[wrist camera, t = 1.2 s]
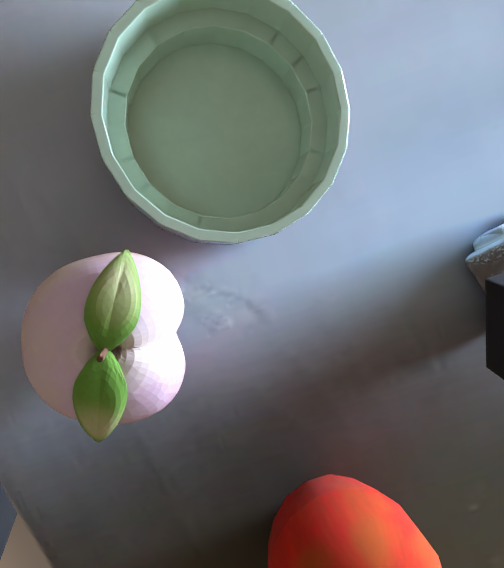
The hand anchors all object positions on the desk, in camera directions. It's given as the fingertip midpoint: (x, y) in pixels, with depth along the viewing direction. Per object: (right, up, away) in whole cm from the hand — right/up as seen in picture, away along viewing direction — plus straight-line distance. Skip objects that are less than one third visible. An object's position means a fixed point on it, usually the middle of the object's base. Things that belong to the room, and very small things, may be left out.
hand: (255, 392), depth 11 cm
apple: (+5, -15, +21) cm, 26 cm away
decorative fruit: (-9, 0, +18) cm, 20 cm away
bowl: (-2, +13, +18) cm, 22 cm away
